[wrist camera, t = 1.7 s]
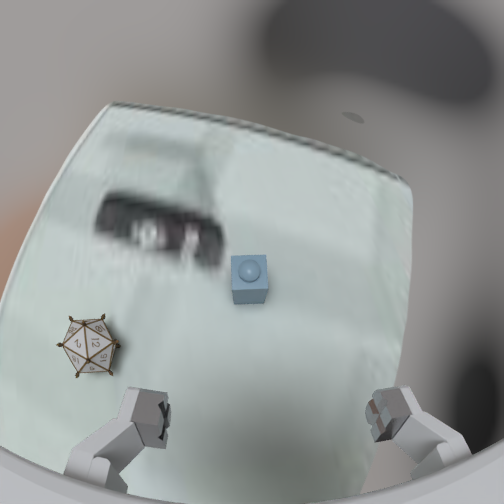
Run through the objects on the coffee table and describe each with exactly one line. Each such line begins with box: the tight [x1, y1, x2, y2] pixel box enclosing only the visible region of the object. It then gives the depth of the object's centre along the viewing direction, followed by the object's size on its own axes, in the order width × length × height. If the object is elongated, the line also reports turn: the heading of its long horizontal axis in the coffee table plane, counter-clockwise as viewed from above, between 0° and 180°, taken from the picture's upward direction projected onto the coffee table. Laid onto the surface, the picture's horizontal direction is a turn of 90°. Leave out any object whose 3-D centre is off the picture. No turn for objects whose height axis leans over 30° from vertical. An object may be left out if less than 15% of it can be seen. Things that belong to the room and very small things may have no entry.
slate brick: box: [231, 255, 268, 304], centre depth 37 cm, size 4×4×9 cm
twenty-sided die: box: [57, 314, 120, 378], centre depth 33 cm, size 9×8×10 cm
